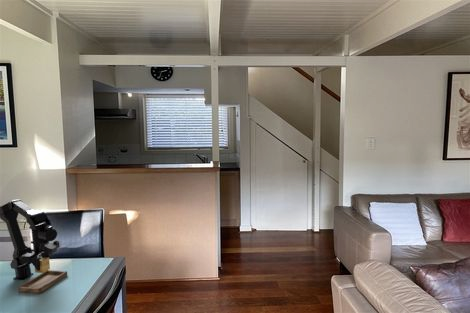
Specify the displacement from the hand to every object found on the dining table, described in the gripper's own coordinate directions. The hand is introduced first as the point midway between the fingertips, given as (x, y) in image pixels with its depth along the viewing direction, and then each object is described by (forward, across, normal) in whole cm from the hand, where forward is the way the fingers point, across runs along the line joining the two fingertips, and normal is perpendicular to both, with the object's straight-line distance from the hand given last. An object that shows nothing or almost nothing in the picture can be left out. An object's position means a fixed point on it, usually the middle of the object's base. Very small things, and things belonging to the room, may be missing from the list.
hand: (42, 268), depth 160 cm
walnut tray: (+8, 0, 0) cm, 8 cm away
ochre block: (+1, 0, 0) cm, 1 cm away
